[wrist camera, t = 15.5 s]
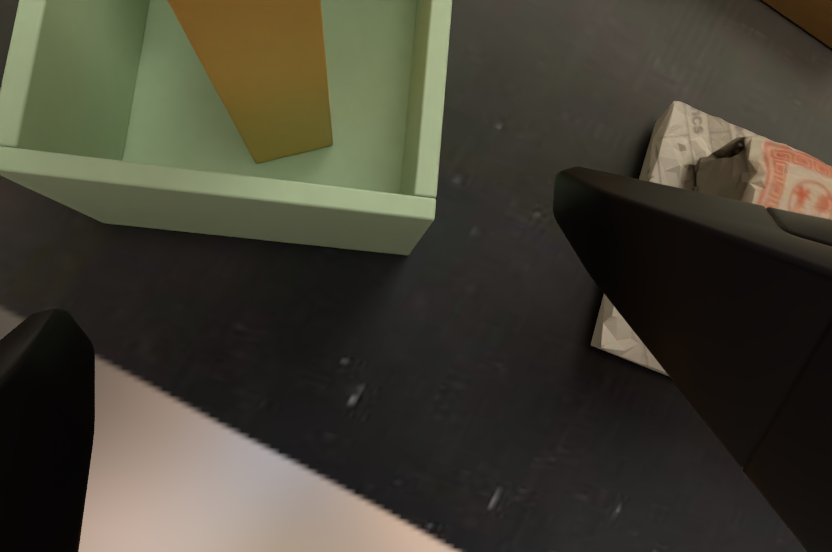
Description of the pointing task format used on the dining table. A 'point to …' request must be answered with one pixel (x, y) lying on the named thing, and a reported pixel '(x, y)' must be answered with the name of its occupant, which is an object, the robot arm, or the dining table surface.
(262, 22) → the mustard yellow box
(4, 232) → the dining table surface
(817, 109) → the dining table surface
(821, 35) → the picture frame
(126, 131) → the open storage bin
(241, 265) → the dining table surface
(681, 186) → the packaged product
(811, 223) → the robot arm
